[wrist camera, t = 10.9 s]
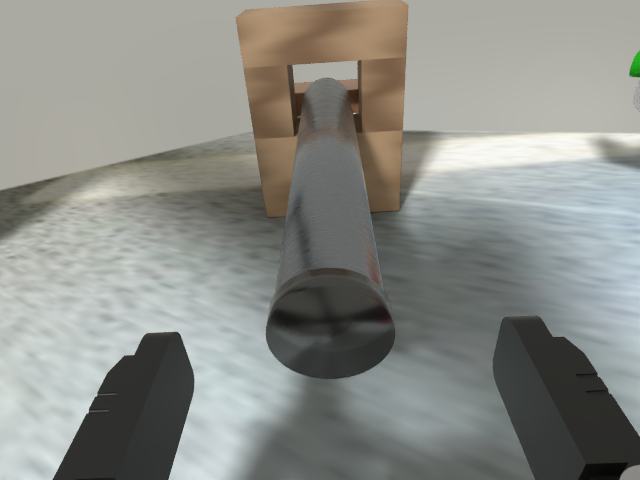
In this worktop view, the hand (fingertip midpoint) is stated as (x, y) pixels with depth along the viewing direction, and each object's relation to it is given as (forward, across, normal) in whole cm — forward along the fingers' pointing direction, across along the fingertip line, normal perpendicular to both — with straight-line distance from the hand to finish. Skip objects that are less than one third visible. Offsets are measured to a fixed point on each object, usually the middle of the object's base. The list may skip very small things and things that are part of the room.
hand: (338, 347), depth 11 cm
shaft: (+11, 0, +2) cm, 11 cm away
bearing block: (+22, 0, +8) cm, 24 cm away
